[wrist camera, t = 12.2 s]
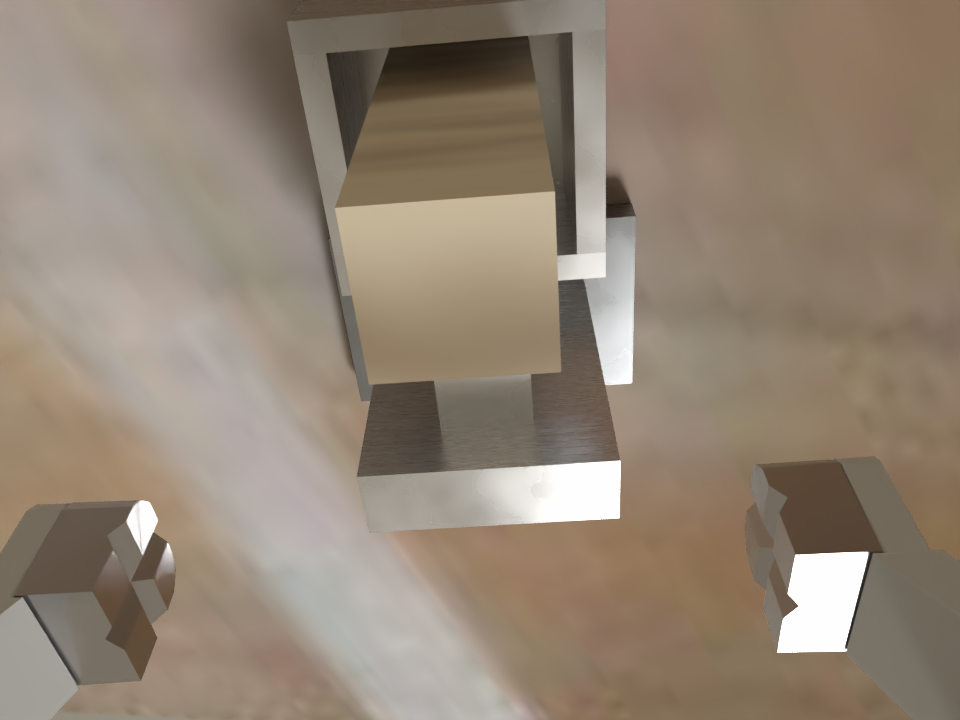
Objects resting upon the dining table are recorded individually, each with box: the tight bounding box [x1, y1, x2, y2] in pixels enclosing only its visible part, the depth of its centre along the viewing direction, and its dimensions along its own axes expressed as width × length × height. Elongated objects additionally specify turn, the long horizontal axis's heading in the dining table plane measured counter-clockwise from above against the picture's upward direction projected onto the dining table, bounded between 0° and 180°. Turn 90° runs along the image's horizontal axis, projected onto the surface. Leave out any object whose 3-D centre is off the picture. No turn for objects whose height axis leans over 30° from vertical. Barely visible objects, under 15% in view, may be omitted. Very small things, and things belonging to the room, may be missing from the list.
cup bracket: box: [287, 0, 636, 532], centre depth 28 cm, size 18×12×12 cm, turn 5°
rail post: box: [335, 36, 561, 385], centre depth 21 cm, size 4×4×12 cm
